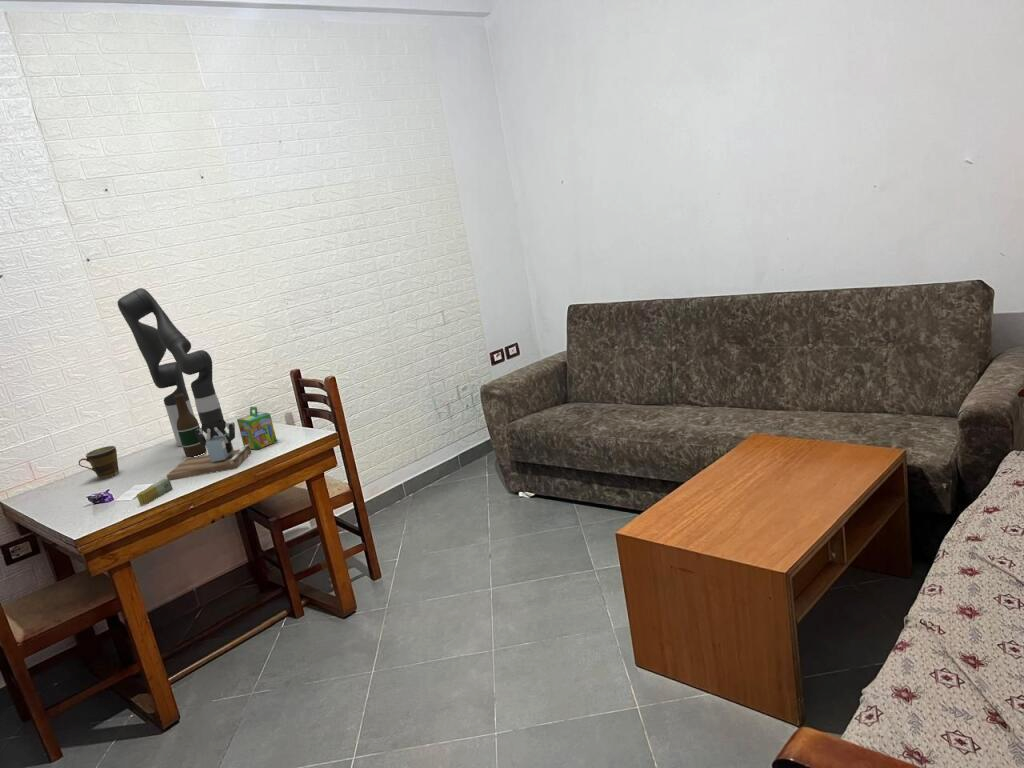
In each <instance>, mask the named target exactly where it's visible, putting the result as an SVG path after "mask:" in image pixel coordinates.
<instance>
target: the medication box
mask: <svg viewBox="0 0 1024 768" xmlns="http://www.w3.org/2000/svg"><path fill="white" fill-rule="evenodd" d="M172 490H174V489H173V486H172V482H171V480H169V479H168V478H163V479H162V480H159V481H157V482H156V483H154V484H152V485H151V486H149V487H148V488H147V487H146V489H144V490H142V491H140V492H139V493H137V494H136V498H137V500H138V503H139V505H140V504H141V505H140V506H144V505H143V504H147V503H148V504H149V502H150V503H152V502H153V501H155V500H157V499H159V498H160V497H162V496H164V495H165V493H166V494H168V493H169V492H171V491H172ZM158 497H159V498H158ZM156 498H157V499H156ZM154 499H155V500H154ZM151 501H152V502H151ZM148 504H147V505H148Z"/></svg>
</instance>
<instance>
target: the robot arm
mask: <svg viewBox="0 0 1024 768" xmlns="http://www.w3.org/2000/svg"><path fill="white" fill-rule="evenodd" d="M117 307H118V310H119V311H120V313H121V315H122V317H123V318H124V320H125V322H126V323H127V326H128V327H129V329H130V331H131V333H132V336H133V338H134V340H135V343H136V344H137V347H138V350H139V351H140V354H141V355H142V357H143V359H144V361H145V363H146V365H147V367H148V368H147V369H148V370H149V374H150V376H151V378H152V381H153V383H154V386H156V387H157V388H158V389H166V388H170V387H175V386H176V388H175V390H174V391H173V392H172V393H170V394H168V395H167V396H165V397H164V398H163V403H164V406H165V410H166V412H167V417H168V420H169V423H170V425H171V426H170V427H171V429H172V432H173V436H174V439H175V442H176V445H177V447H183V446H182V443H181V440H180V437H179V433H178V430H177V420H178V417H179V416H178V410H177V405H176V401H175V399H174V395H176V394H180V393H183V394H184V399H185V401H186V404H187V407H188V409H189V411H190V413H191V414H192V415H194V416H195V413H194V410H193V407H192V403H191V400H190V397H189V394H188V390H187V387H186V383H185V378H184V374H185V375H188V376H192V375H196V374H198V376H197V378H195V380H193V381H192V382H191V383H190V387H191V388H190V389H191V392H192V395H193V398H194V403H195V408H196V411H197V414H198V418H199V422H200V424H201V427H200V429H199V428H198V429H196V430H195V431H194V433H195V435H196V436H197V438H198V440H199V442H200V443H201V445H202V446H204V445H205V446H206V444H205V443H206V442H207V441H209V440H211V439H212V438H213V437H214V436H220V437H221V438H223V439H224V442H225V445H226V449H227V453H230V452H231V451H232V446H233V444H232V445H231V442H232V441H233V440H234V439H235V438H236V429H235V428H236V426H235V424H236V423H235V422H233V421H232V422H227V421H225V418H224V415H223V414H224V413H223V411H222V408H221V403H220V400H219V397H218V396H217V394H216V393H217V392H216V389H215V386H214V382H213V359H212V357H211V355H210V354H209V352H208V351H206V350H202V349H201V350H196V351H193V352H190V351H191V349H192V343H191V342H190V341H189V339H188V338H187V337H185V335H184V334H183V333H182V332H181V331H180V330H179V329H178V328H177V327H176V326H175V324H174V323H173V322H172V321H171V319H170V317H169V316H168V314H167V313H166V312H165V311H164V310H163V308H162V307H161V305H160V304H159V303H158V302H157V300H156V299H155V297H153V295H152V294H151V293H150V292H149V291H148V290H146V289H145V288H143V287H139V288H137V289H134V290H132V291H131V292H129V293H127V294H125V295H123V296H122V297H120V298H119V299H118V300H117ZM150 314H153V315H154V317H155V319H156V327H157V328H156V327H154V326H152V325H149V324H145V323H143V322H141V321H140V320H141V319H142V318H145V317H146V316H148V315H150ZM166 351H168V352H169V353H170V354H171V355H172V356H173V359H174V360H175V361H173V362H168V363H163V364H160V363H161V361H162V360H163V358H164V357H165V354H166ZM189 352H190V353H189ZM226 428H227V430H228V432H227V431H226ZM204 433H205V434H206V437H205V435H204ZM227 433H229V436H228V434H227Z"/></svg>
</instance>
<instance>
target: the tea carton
mask: <svg viewBox="0 0 1024 768" xmlns="http://www.w3.org/2000/svg"><path fill="white" fill-rule="evenodd" d="M227 434H228V436H229V432H227ZM205 444H206V445H205V447H206V451H207V453H208V455H209V457H210V461H211V462H214V461H220V460H225V459H226V458H227V457H228V456H229V455H230V454H231V453H232V452H233V451H234V446H233V443H232V441H231V445H232V451H231V452H230V453H227V449H226V445H225V442H224V439H223V438H221V437H220V436H214V437H213V438H212V439H211V440H209V441H207V442H206V443H205Z"/></svg>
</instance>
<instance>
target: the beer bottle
mask: <svg viewBox="0 0 1024 768" xmlns="http://www.w3.org/2000/svg"><path fill="white" fill-rule="evenodd" d="M174 399H175V401H176V405H177V410H178V416H179V417H178V420H177V430H178V433H179V437H180V440H181V443H182V446H181V447H182V449H183V453H184V456H185V457H186V458H187V457H194V456H198V455H201V454H203V453H205V452H206V453H207V447H206V445H204V446H202V445H201V443H200V442H199V440H198V438H197V436H196V435H195V433H194V431H195V430H196V429H198V428H199V429H200V428H201V427H200V424H199V420H198V419H197V417H196V416H195V414H194V415H192V414H191V413H190V411H189V409H188V407H187V404H186V401H185V399H184V394H183V393H180V394H176V395H174ZM206 453H205V454H206ZM203 455H204V454H203ZM201 456H202V455H201ZM198 457H199V456H198ZM194 458H195V457H194Z"/></svg>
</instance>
